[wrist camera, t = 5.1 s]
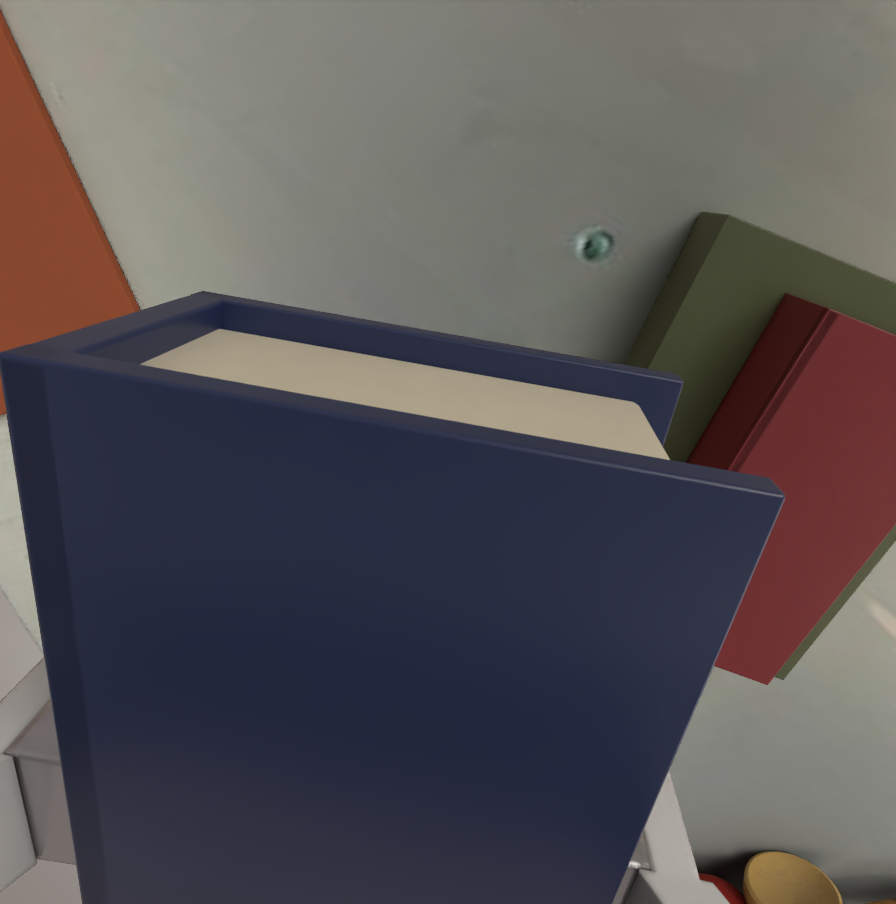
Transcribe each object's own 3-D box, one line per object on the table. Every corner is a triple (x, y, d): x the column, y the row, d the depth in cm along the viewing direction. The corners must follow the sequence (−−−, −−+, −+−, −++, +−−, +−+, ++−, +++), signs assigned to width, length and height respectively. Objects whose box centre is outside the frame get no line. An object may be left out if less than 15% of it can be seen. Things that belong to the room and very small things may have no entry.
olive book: (701, 211, 22) (728, 214, 20) (987, 328, 23) (1052, 347, 20) (529, 551, 29) (531, 589, 26) (757, 634, 29) (783, 680, 27)
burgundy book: (785, 292, 20) (829, 308, 18) (943, 356, 21) (1010, 381, 18) (611, 586, 26) (624, 633, 23) (739, 633, 26) (767, 685, 23)
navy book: (200, 290, 7) (-6, 351, 4) (678, 373, 7) (788, 495, 4) (210, 881, 11) (111, 1100, 9) (498, 943, 11) (491, 1188, 8)
